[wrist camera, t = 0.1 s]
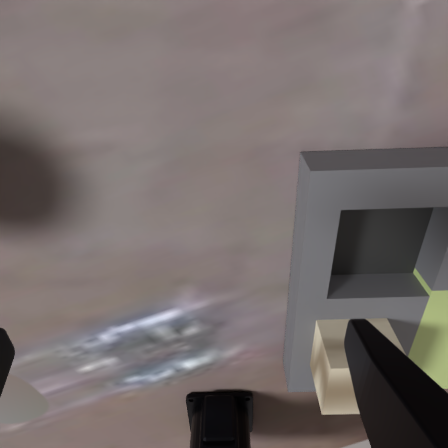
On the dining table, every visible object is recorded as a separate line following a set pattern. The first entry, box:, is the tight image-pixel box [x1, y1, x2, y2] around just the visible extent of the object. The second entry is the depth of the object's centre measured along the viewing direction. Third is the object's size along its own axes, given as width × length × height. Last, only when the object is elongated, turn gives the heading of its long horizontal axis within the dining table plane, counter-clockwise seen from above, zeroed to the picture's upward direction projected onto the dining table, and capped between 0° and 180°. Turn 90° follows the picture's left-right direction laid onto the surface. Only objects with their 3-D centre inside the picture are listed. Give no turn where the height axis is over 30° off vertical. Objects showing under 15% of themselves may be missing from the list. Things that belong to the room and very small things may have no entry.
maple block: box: [310, 318, 406, 415], centre depth 25 cm, size 5×5×4 cm
